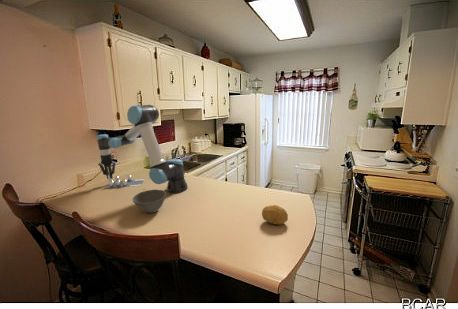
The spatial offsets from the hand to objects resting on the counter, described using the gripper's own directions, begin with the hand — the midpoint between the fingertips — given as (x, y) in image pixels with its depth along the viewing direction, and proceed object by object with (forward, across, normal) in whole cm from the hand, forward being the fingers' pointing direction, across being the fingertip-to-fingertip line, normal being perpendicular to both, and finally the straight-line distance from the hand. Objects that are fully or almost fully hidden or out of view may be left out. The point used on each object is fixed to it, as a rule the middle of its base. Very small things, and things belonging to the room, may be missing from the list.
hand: (110, 182), depth 175 cm
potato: (+2, -112, +76) cm, 135 cm away
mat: (+3, -12, 0) cm, 12 cm away
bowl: (+3, -43, +51) cm, 67 cm away
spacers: (+3, -8, 0) cm, 9 cm away
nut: (+2, -8, 0) cm, 8 cm away
